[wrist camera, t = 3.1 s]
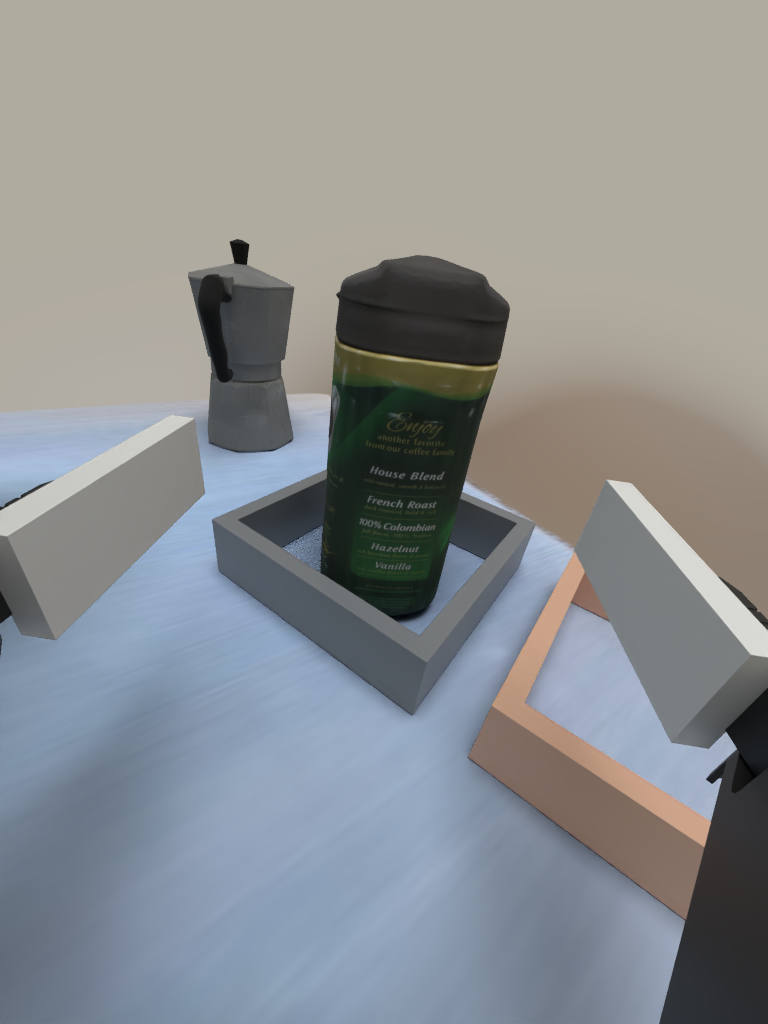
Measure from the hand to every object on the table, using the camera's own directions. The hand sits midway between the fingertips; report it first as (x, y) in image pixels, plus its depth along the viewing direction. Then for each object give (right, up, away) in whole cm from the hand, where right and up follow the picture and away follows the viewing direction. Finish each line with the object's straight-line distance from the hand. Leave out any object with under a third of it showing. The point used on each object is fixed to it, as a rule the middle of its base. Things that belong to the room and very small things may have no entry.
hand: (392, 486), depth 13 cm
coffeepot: (-15, +7, +30) cm, 34 cm away
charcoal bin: (-1, -5, +15) cm, 16 cm away
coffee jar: (-1, -5, +15) cm, 16 cm away
